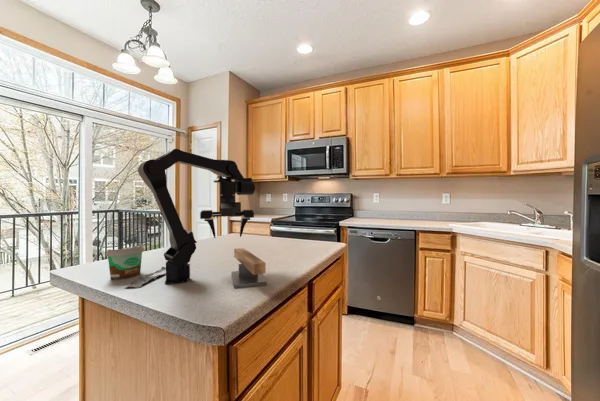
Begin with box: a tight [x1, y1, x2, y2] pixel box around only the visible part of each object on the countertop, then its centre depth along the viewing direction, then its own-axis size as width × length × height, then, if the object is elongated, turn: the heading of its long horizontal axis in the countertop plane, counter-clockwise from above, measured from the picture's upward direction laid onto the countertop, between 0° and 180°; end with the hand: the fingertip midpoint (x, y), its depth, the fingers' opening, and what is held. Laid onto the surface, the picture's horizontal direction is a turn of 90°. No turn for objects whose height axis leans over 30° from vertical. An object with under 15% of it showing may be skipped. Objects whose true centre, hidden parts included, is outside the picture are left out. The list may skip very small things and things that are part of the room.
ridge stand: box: [230, 263, 268, 289], centre depth 85 cm, size 10×14×5 cm
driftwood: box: [125, 266, 166, 289], centre depth 87 cm, size 21×7×2 cm, turn 172°
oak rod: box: [233, 247, 267, 275], centre depth 85 cm, size 4×24×3 cm, turn 27°
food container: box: [105, 243, 145, 280], centre depth 89 cm, size 12×6×10 cm, turn 164°
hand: (227, 237), depth 96 cm, fingers open, 9 cm apart
